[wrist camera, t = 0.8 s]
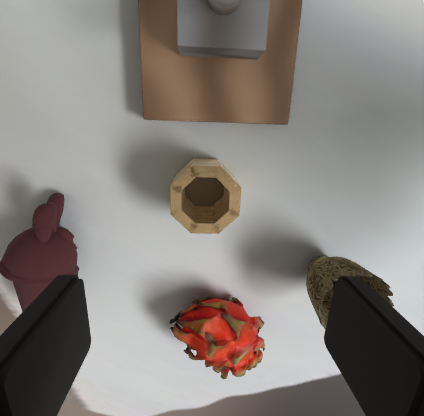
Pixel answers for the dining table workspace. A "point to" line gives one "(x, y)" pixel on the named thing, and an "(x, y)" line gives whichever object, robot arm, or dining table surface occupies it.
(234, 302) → the dragon fruit
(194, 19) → the shaft stand
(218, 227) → the hub
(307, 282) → the cup
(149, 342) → the dining table surface
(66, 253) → the icecream
